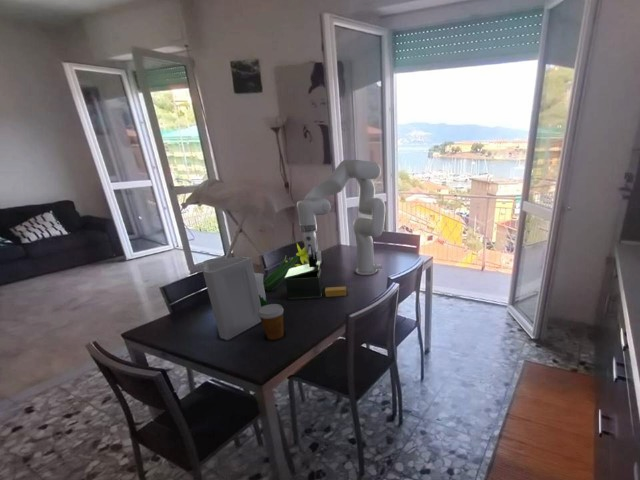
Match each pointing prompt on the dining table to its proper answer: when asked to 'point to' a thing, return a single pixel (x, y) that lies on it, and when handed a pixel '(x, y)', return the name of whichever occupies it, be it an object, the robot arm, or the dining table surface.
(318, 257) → the lumpy-topped squat cylinder
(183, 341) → the dining table surface
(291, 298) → the waste bin
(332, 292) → the yellow rectangular block
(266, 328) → the disposable coffee cup
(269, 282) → the daffodil flowers
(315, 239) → the robot arm
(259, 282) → the milk carton
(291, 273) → the bin lid
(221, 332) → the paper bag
